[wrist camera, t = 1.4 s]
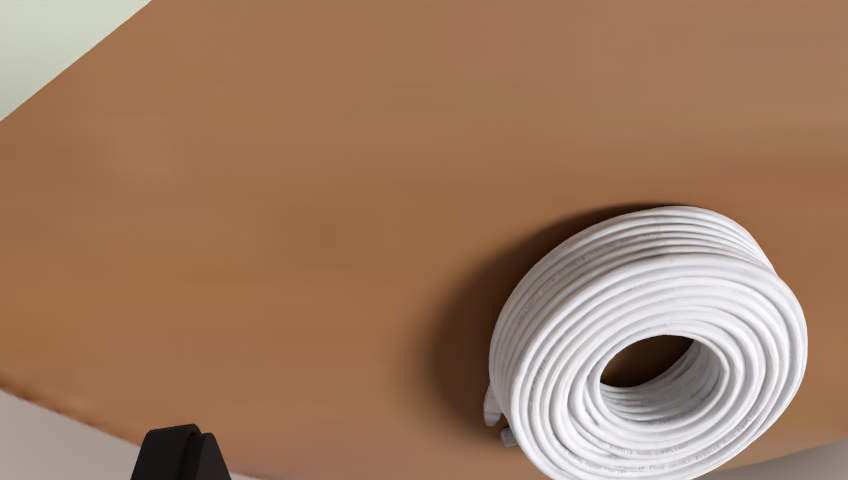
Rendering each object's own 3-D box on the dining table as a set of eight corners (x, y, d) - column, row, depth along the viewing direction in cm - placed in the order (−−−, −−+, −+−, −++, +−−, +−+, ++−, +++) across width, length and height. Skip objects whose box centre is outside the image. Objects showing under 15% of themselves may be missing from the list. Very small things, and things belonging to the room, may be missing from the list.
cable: (477, 439, 48) (492, 516, 42) (487, 204, 39) (508, 265, 34) (734, 421, 49) (779, 494, 44) (801, 189, 40) (868, 246, 35)
